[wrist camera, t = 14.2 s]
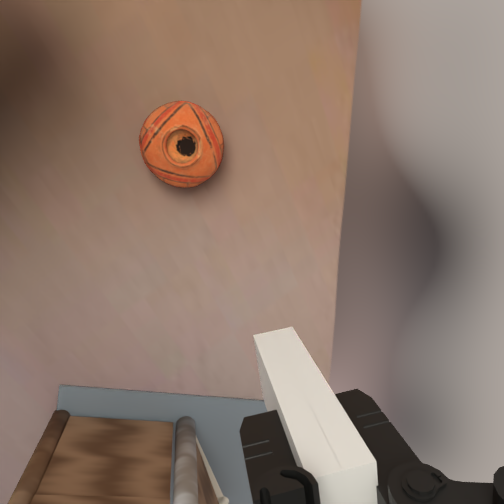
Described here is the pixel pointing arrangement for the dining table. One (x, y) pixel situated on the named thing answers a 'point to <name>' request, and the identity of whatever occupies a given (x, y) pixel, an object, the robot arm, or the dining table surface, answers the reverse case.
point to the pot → (181, 144)
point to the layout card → (170, 410)
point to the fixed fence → (110, 462)
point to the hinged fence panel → (204, 482)
